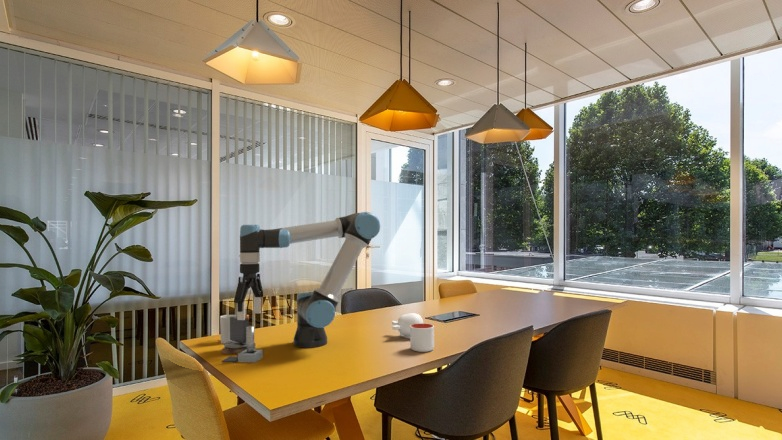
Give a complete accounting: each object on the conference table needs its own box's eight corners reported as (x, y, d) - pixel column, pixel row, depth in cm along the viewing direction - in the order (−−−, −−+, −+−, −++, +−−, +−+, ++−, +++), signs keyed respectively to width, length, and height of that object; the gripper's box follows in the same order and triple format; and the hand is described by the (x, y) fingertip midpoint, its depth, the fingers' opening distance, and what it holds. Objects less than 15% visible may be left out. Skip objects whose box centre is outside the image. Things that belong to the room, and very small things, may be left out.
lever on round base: (243, 340, 195) (243, 310, 195) (259, 344, 187) (259, 313, 188) (218, 346, 185) (218, 314, 186) (235, 350, 178) (234, 317, 178)
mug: (236, 343, 199) (236, 316, 199) (220, 344, 196) (220, 318, 196) (234, 338, 208) (234, 313, 208) (219, 339, 205) (219, 314, 205)
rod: (255, 358, 174) (255, 326, 174) (252, 360, 171) (252, 327, 172) (248, 358, 175) (248, 325, 175) (245, 360, 172) (244, 327, 172)
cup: (437, 347, 187) (437, 324, 187) (429, 353, 178) (429, 329, 178) (415, 345, 191) (415, 322, 191) (406, 351, 182) (406, 327, 182)
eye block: (262, 357, 176) (262, 349, 176) (254, 362, 169) (254, 354, 169) (246, 356, 177) (246, 349, 177) (237, 361, 170) (237, 354, 170)
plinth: (255, 347, 191) (255, 342, 191) (244, 354, 181) (244, 348, 181) (234, 347, 192) (234, 342, 192) (222, 353, 182) (222, 348, 182)
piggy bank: (424, 338, 209) (393, 341, 209) (421, 313, 213) (391, 316, 213) (425, 336, 198) (393, 339, 197) (423, 310, 201) (390, 313, 201)
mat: (243, 357, 175) (243, 356, 175) (236, 362, 170) (236, 361, 170) (229, 357, 176) (229, 356, 176) (221, 361, 170) (221, 360, 170)
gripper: (255, 260, 187) (254, 310, 186) (224, 265, 162) (224, 322, 161) (271, 261, 186) (271, 310, 185) (243, 265, 161) (243, 323, 160)
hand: (249, 316), depth 173 cm, fingers open, 13 cm apart
